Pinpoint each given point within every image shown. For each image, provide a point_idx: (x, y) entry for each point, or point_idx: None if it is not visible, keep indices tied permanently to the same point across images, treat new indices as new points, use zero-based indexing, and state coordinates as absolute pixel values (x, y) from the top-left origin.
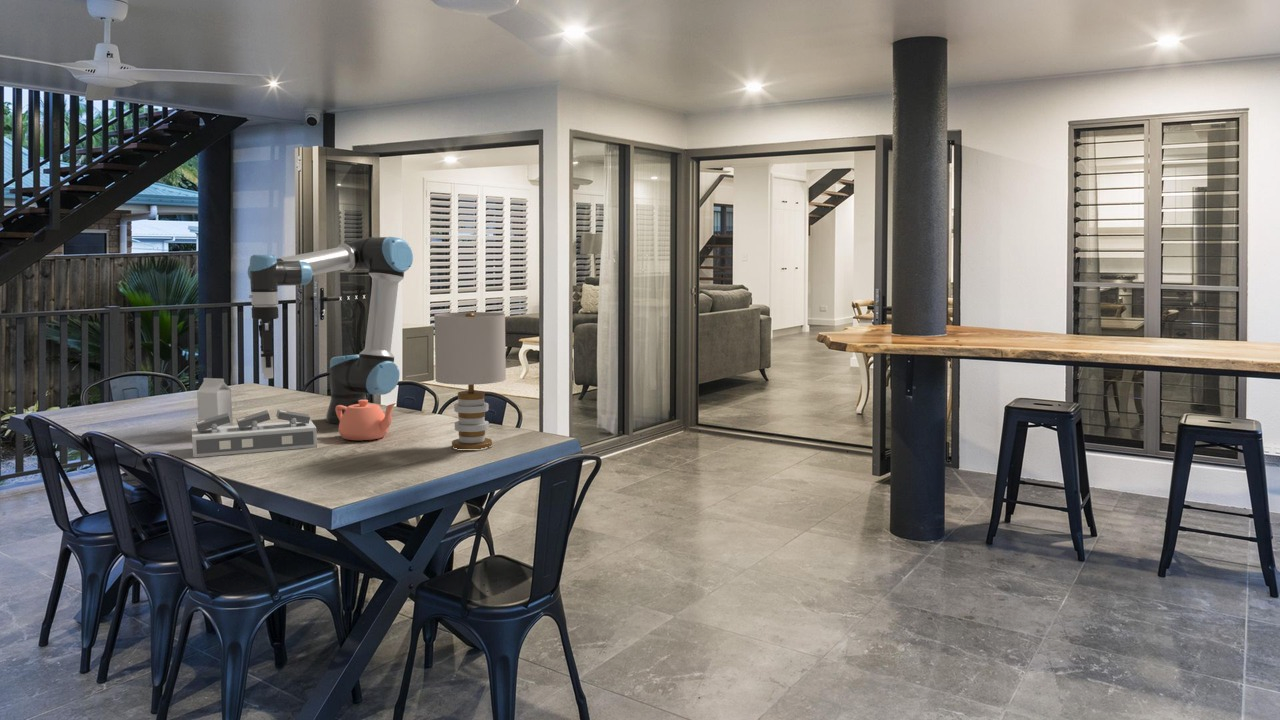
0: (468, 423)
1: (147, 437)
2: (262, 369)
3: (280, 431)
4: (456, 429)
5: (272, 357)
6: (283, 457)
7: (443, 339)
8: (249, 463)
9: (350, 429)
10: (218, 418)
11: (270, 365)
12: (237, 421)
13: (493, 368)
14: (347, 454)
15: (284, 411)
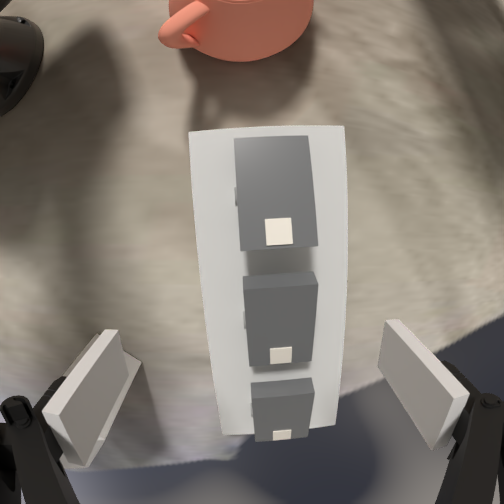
0: None
1: (98, 451)
2: (121, 385)
3: (347, 234)
4: None
5: (465, 391)
6: (412, 224)
7: None
8: (432, 293)
9: (298, 33)
10: (304, 409)
11: (454, 369)
12: (293, 362)
13: None
14: (429, 88)
15: (279, 226)
